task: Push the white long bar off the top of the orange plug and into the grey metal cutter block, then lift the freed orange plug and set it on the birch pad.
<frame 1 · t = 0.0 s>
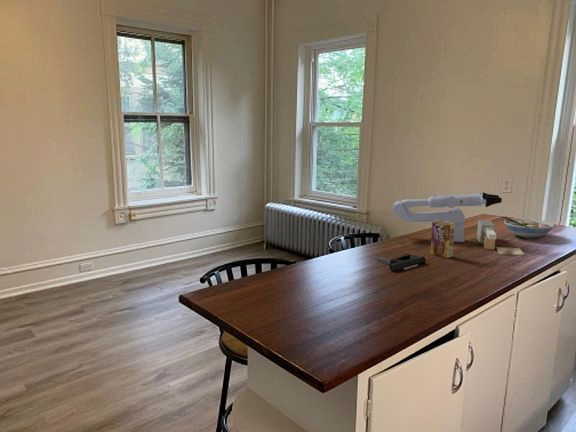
hand: (500, 198, 210), 22 cm above the kitchen island, tool horizontal, fingers open, 7 cm apart
ramen bowl: (527, 237, 224), on the kitchen island
pad: (509, 251, 197), on the kitchen island
door handle: (398, 264, 183), on the kitchen island
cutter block: (484, 240, 218), on the kitchen island
candy box: (441, 255, 193), on the kitchen island
plug: (489, 248, 204), on the kitchen island
white long bar: (489, 232, 204), point 7 cm above the kitchen island, slide at 0.0 cm
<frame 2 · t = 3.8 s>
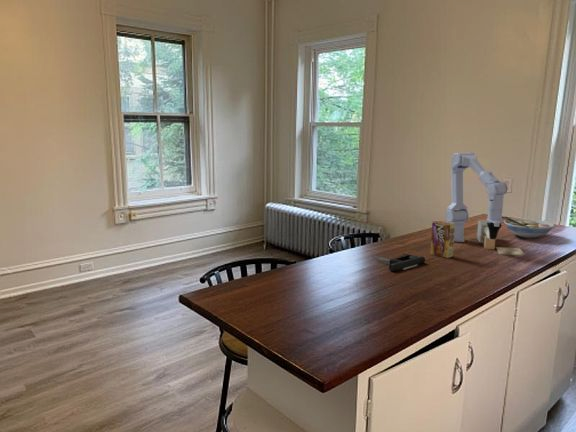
hand: (492, 238, 195), 6 cm above the kitchen island, tool pointing down, fingers closed
white long bar: (489, 232, 205), point 7 cm above the kitchen island, slide at 0.2 cm, touching gripper
everything else where it was.
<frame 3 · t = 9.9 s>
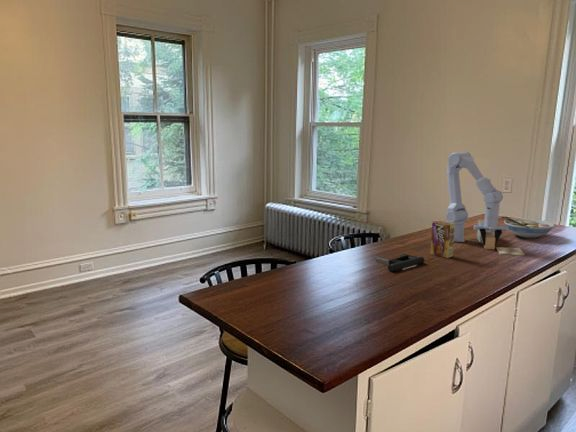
hand: (489, 245, 204), 1 cm above the kitchen island, tool pointing down, fingers closed on plug, 4 cm apart
plug: (489, 247, 204), on the kitchen island, touching gripper
white long bar: (485, 225, 218), point 7 cm above the kitchen island, slide at 14.1 cm
everything else where it was.
when the fingers open (3 cm above the kitchen island, at t = 13.1 s): plug drops 1 cm, resting on pad.
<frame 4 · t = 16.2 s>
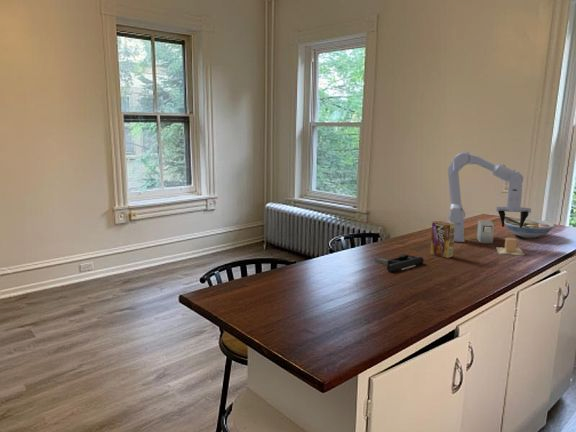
hand: (511, 226, 205), 9 cm above the kitchen island, tool pointing down, fingers open, 7 cm apart
plug: (510, 250, 197), point 1 cm above the kitchen island, touching pad
at the end: white long bar slide at 14.1 cm; plug inside the target area on the pad (0.0 cm from its centre), point 0.6 cm above the pad's base; plug tilted 0° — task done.
